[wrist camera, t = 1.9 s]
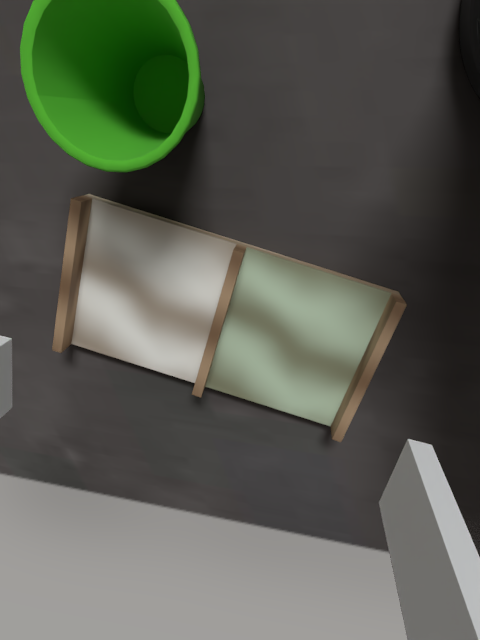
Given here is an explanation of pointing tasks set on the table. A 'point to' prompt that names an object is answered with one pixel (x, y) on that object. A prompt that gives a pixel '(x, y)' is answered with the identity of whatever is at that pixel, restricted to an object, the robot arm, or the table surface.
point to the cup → (112, 78)
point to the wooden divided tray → (221, 312)
